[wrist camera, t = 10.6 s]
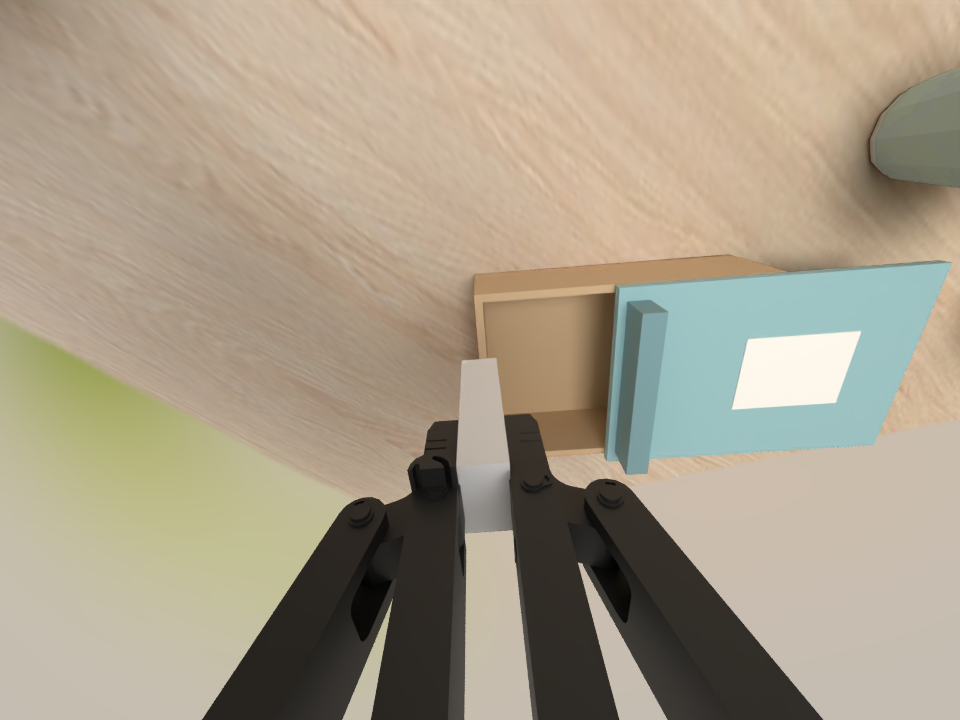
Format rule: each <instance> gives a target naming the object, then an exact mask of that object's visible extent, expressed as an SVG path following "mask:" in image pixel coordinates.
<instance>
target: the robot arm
mask: <svg viewBox="0 0 960 720" xmlns="http://www.w3.org/2000/svg"><path fill="white" fill-rule="evenodd" d="M407 471H408V475H409V480H410V485H411V489H412V493H411V494H409V495H408V496H406V497H405V498H403V499H400V500H398V501H395V502H392V503H389V504H386V505H384V504H383V503H382V502H381V501H380V500H379V499H376V498H373V497H367V498H361V499H358V500H355V501H353V502H351V503H350V504H348V505H347V506H346V507H345V508H344V509H343V510H342V511H341V512H340V513H339V515H338V516H337V518H336V519H335V521H334V522H333V524H332V525H331V527H330V528H329V530H328V531H327V533H326V534H325V536H324V537H323V539H322V540H321V542H320V543H319V545H318V546H317V548H316V549H315V551H314V552H313V554H312V555H311V557H310V558H309V560H308V561H307V563H306V564H305V566H304V567H303V569H302V570H301V572H300V573H299V575H298V576H297V578H296V579H295V581H294V582H293V584H292V585H291V587H290V588H289V590H288V591H287V593H286V594H285V596H284V597H283V599H282V600H281V602H280V603H279V605H278V606H277V608H276V609H275V611H274V612H273V614H272V615H271V617H270V618H269V620H268V621H267V623H266V624H265V626H264V627H263V629H262V630H261V632H260V633H259V635H258V636H257V638H256V639H255V641H254V643H253V644H252V646H251V647H250V648H249V650H248V651H247V653H246V654H245V656H244V657H243V659H242V661H241V662H240V664H239V665H238V667H237V668H236V670H235V671H234V672H233V674H232V676H231V677H230V679H229V680H228V682H227V683H226V685H225V686H224V688H223V689H222V691H221V692H220V694H219V695H218V697H217V698H216V700H215V701H214V703H213V704H212V706H211V707H210V709H209V710H208V712H207V713H206V715H205V716H204V718H203V719H202V720H342V719H343V716H344V714H345V712H346V709H347V707H348V704H349V702H350V699H351V697H352V695H353V692H354V690H355V688H356V685H357V683H358V680H359V678H360V676H361V673H362V671H363V668H364V666H365V664H366V661H367V659H368V656H369V654H370V651H371V649H372V647H373V644H374V642H375V639H376V637H377V635H378V632H379V630H380V628H381V625H382V623H383V620H384V618H385V615H386V613H387V611H388V608H389V606H390V603H391V601H392V599H393V601H392V606H391V612H390V618H389V623H388V629H387V634H386V639H385V645H384V651H383V656H382V662H381V667H380V673H379V678H378V684H377V689H376V695H375V700H374V706H373V712H372V717H371V720H464V692H465V610H466V607H465V604H466V603H465V602H466V545H465V533H479V532H492V531H507V530H513V535H514V551H515V563H516V567H517V577H518V586H519V595H520V605H521V614H522V623H523V633H524V642H525V651H526V660H527V669H528V679H529V689H530V697H531V707H532V716H533V720H619V717H618V713H617V709H616V706H615V702H614V698H613V694H612V691H611V687H610V683H609V679H608V676H607V671H606V668H605V664H604V660H603V656H602V652H601V649H600V645H599V641H598V638H597V633H596V630H595V626H594V622H593V618H592V615H591V611H590V607H589V603H588V600H587V596H586V592H585V588H584V584H583V581H582V577H581V573H580V569H579V565H578V562H579V563H583V566H584V568H585V570H586V572H587V574H588V575H589V577H590V579H591V581H592V583H593V585H594V587H595V588H596V590H597V592H598V594H599V596H600V597H601V599H602V601H603V603H604V605H605V607H606V608H607V610H608V612H609V614H610V616H611V617H612V619H613V621H614V623H615V625H616V627H617V628H618V630H619V632H620V634H621V636H622V638H623V639H624V641H625V643H626V645H627V647H628V648H629V650H630V652H631V654H632V656H633V658H634V659H635V661H636V663H637V665H638V667H639V668H640V670H641V672H642V674H643V676H644V678H645V679H646V681H647V683H648V685H649V686H650V689H651V690H652V692H653V694H654V695H655V698H656V699H657V701H658V703H659V705H660V707H661V708H662V710H663V712H664V714H665V716H666V718H667V719H668V720H823V719H822V718H821V717H820V715H819V714H818V713H817V712H816V711H815V709H814V708H813V707H812V706H811V704H810V703H809V702H808V701H807V700H806V699H805V697H804V696H803V695H802V694H801V693H800V692H799V690H798V689H797V688H796V686H795V685H794V684H793V683H792V682H791V681H790V679H789V678H788V677H787V676H786V675H785V673H784V672H783V671H782V670H781V669H780V667H779V666H778V665H777V664H776V663H775V662H774V660H773V659H772V658H771V657H770V655H769V654H768V653H767V652H766V651H765V649H764V648H763V647H762V646H761V645H760V643H759V642H758V641H757V640H756V639H755V637H754V636H753V635H752V634H751V633H750V632H749V630H748V629H747V628H746V627H745V625H744V624H743V623H742V622H741V621H740V619H739V618H738V617H737V616H736V615H735V614H734V612H733V611H732V610H731V609H730V608H729V606H728V605H727V604H726V603H725V601H723V599H722V598H721V597H720V596H719V594H718V593H717V592H716V591H715V590H714V588H713V587H712V586H711V585H710V584H709V582H708V581H707V580H706V579H705V578H704V576H703V575H702V574H701V573H700V572H699V570H698V569H697V568H696V567H695V566H694V565H693V563H692V562H691V561H690V560H689V558H688V557H687V556H686V555H685V554H684V552H683V551H682V550H681V549H680V548H679V546H678V545H677V544H676V543H675V542H674V540H673V539H672V538H671V537H670V536H669V535H668V533H667V532H666V531H665V530H664V528H663V527H662V526H661V525H660V524H659V522H658V521H657V520H656V519H655V518H654V516H653V515H652V514H651V513H650V512H649V511H648V509H647V508H646V507H645V506H644V504H643V503H642V502H641V501H640V500H639V498H638V497H637V496H636V495H635V494H634V493H633V491H632V490H631V489H630V488H628V487H627V486H626V485H625V484H623V483H621V482H618V481H616V480H611V479H598V480H595V481H593V482H591V483H590V484H589V485H588V486H587V488H586V489H583V488H577V487H572V486H569V485H566V484H564V483H562V482H560V481H559V480H557V479H556V478H555V477H554V476H553V475H552V473H551V471H550V469H549V465H548V461H547V457H546V453H545V449H544V445H543V441H542V437H541V434H540V430H539V426H538V422H537V421H536V420H535V419H534V418H533V417H532V415H531V414H518V415H505V416H504V414H503V406H502V398H501V390H500V383H499V375H498V367H497V359H496V358H487V359H475V360H462V366H461V385H460V403H459V420H452V421H439V422H434V423H433V425H432V426H431V427H430V429H429V430H428V432H427V438H426V444H425V451H424V455H423V456H421V457H419V458H416V459H415V460H414V461H413V462H412V463H411V464H410V466H409V468H408V470H407Z"/></svg>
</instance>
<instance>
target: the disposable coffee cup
mask: <svg viewBox="0 0 960 720" xmlns="http://www.w3.org/2000/svg"><path fill="white" fill-rule="evenodd" d="M870 154H871V162H872V163H873V164H874V165H875V166H876V167H877V168H878V169H879V171H880V172H881V173H882V174H884V175H887V176H888V177H889V178H891V179H898V180H905V181H913V182H920V183H927V184H935V185H942V186H949V187H956V188H960V67H957V68H955V69H952V70H950V71H947V72H945V73H942V74H940V75H937V76H935V77H933V78H931V79H929V80H926V81H924V82H922V83H920V84H918V85H916V86H913V87H911V88H909V89H908V90H907V91H906V92H905V93H903V94H901V95H900V96H899V97H898V98H897V99H896V100H895V101H894V102H893V103H892V104H891V105H890V106H889V107H888V108H887V109H886V110H885V111H884V112H883V113H882V114H881V115H880V117H879V120H878V122H877V124H876V127H875V129H874V131H873V134H872V136H871V138H870Z"/></svg>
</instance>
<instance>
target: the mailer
mask: <svg viewBox="0 0 960 720" xmlns="http://www.w3.org/2000/svg"><path fill="white" fill-rule="evenodd" d="M781 272H786V271H784V270H780V269H777V268H774V267H770V266H767V265H763V264H760V263H756V262H753V261H749V260H746V259H743V258H739V257H736V256H732V255H716V256H704V257H691V258H678V259H666V260H653V261H640V262H627V263H615V264H602V265H589V266H577V267H564V268H551V269H539V270H526V271H513V272H501V273H488V274H475V279H474V305H475V317H476V328H477V340H478V351H479V359H487V358H496V359H497V367H498V375H499V383H500V390H501V398H502V406H503V414H504V416H505V415H518V414H531V415H532V417H533V418H534V419H535V420H536V421H537V422H538V426H539V430H540V434H541V437H542V441H543V445H544V449H545V453H546V457H552V456H568V455H584V454H600V453H604V450H605V436H606V422H607V407H608V393H609V379H610V365H611V351H612V336H613V322H614V308H615V294H616V285H626V284H639V283H652V282H665V281H678V280H691V279H703V278H716V277H729V276H742V275H755V274H768V273H781Z"/></svg>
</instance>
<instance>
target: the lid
mask: <svg viewBox="0 0 960 720" xmlns="http://www.w3.org/2000/svg"><path fill="white" fill-rule="evenodd" d="M951 264H952V262H946V261H940V260H937V261H924V262H911V263H898V264H885V265H872V266H859V267H846V268H833V269H820V270H807V271H794V272H781V273H768V274H755V275H742V276H729V277H716V278H703V279H691V280H678V281H665V282H652V283H639V284H626V285H616V294H615V308H614V322H613V336H612V351H611V365H610V379H609V393H608V407H607V422H606V436H605V450H604V456H605V459H606V461H607V462H608V461H620V463H621V465H622V467H623V469H624V471H625V473H626V475H630V474H646V473H647V472H648V464H649V459H657V458H673V457H689V456H705V455H721V454H737V453H754V452H770V451H786V450H802V449H818V448H834V447H850V446H866V445H874V443H875V441H876V438H877V436H878V434H879V432H880V429H881V427H882V425H883V422H884V420H885V418H886V415H887V413H888V411H889V408H890V406H891V404H892V401H893V399H894V397H895V394H896V392H897V390H898V387H899V385H900V383H901V380H902V378H903V376H904V373H905V371H906V369H907V366H908V364H909V362H910V359H911V357H912V355H913V352H914V350H915V348H916V346H917V343H918V341H919V339H920V336H921V334H922V332H923V329H924V327H925V325H926V322H927V320H928V318H929V315H930V313H931V311H932V308H933V306H934V304H935V301H936V299H937V297H938V294H939V292H940V290H941V287H942V285H943V283H944V280H945V278H946V276H947V273H948V271H949V269H950V266H951Z"/></svg>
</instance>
